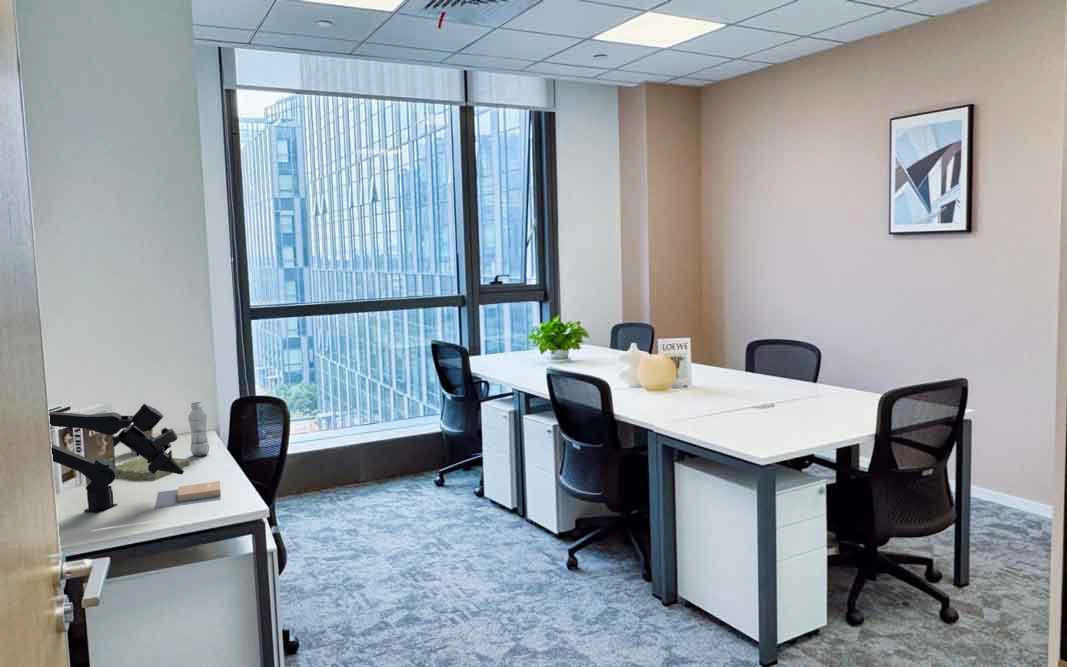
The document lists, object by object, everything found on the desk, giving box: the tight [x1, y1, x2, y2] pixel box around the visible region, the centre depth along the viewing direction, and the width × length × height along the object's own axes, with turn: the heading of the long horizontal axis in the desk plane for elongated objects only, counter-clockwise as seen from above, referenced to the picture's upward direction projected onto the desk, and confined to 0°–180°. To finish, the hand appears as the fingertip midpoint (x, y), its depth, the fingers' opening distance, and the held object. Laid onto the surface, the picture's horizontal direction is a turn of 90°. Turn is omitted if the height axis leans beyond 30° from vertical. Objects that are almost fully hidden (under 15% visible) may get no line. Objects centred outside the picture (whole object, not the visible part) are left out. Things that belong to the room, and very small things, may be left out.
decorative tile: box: [116, 456, 190, 481], centre depth 273 cm, size 19×20×4 cm
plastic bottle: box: [187, 401, 210, 457], centre depth 293 cm, size 6×7×20 cm
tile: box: [177, 481, 222, 502], centre depth 244 cm, size 2×10×12 cm
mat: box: [154, 489, 221, 510], centre depth 243 cm, size 18×18×1 cm
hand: (182, 473), depth 241 cm, fingers closed
